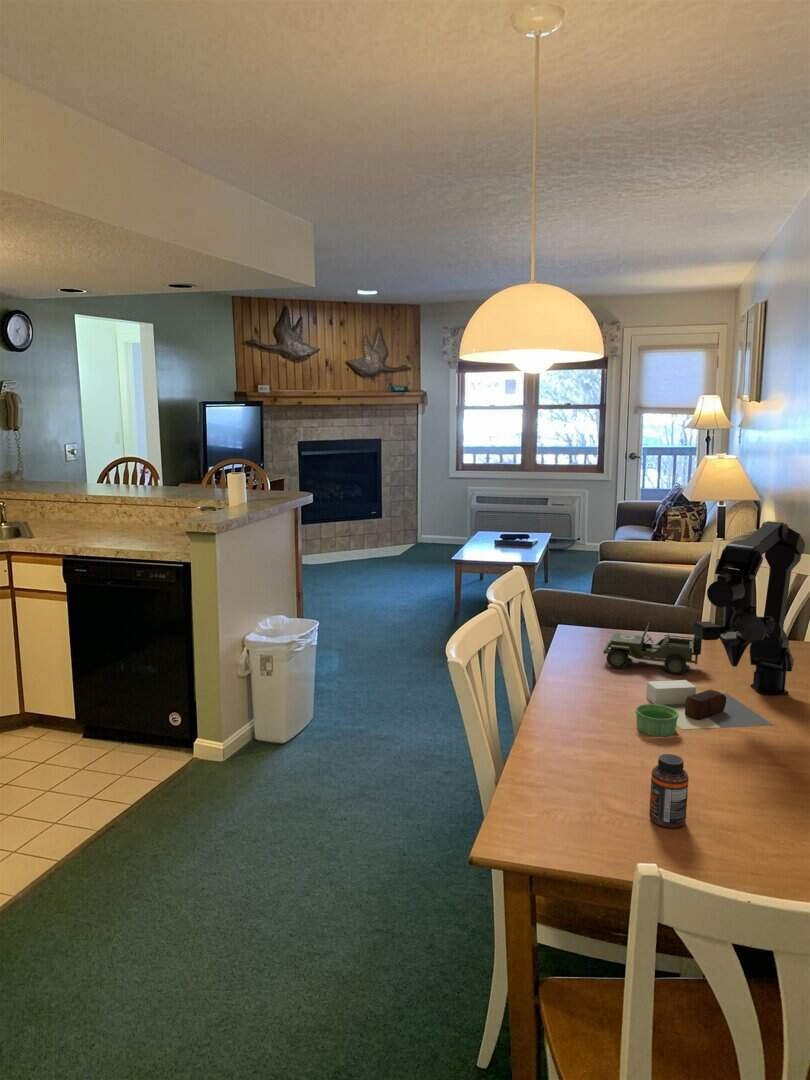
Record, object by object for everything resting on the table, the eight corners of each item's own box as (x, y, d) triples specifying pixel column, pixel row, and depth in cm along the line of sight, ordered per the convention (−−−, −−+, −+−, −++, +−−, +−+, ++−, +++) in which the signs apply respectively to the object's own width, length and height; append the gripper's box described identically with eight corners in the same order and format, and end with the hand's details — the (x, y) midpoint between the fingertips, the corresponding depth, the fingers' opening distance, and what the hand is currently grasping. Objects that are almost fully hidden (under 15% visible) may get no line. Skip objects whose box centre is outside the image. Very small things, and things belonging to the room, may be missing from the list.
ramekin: (680, 726, 173) (681, 708, 172) (673, 741, 165) (674, 722, 165) (639, 719, 177) (640, 701, 177) (630, 733, 169) (631, 714, 169)
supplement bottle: (643, 812, 136) (646, 751, 134) (676, 811, 136) (680, 750, 135) (657, 830, 130) (661, 766, 128) (691, 829, 130) (696, 765, 129)
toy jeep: (607, 655, 224) (608, 618, 223) (699, 665, 216) (702, 626, 214) (601, 667, 213) (603, 628, 212) (699, 679, 204) (702, 638, 203)
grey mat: (726, 693, 193) (726, 692, 193) (773, 725, 174) (773, 724, 174) (643, 697, 191) (643, 696, 190) (681, 730, 171) (681, 729, 171)
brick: (699, 721, 175) (701, 701, 174) (683, 716, 178) (685, 696, 177) (726, 711, 181) (727, 692, 181) (710, 706, 184) (712, 687, 184)
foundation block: (685, 695, 191) (686, 680, 191) (695, 703, 186) (696, 687, 186) (646, 697, 190) (647, 681, 189) (655, 704, 185) (656, 688, 185)
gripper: (718, 609, 166) (713, 679, 169) (799, 606, 168) (793, 676, 171) (692, 597, 177) (688, 663, 180) (769, 594, 179) (764, 660, 182)
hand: (733, 666), depth 178 cm, fingers closed
